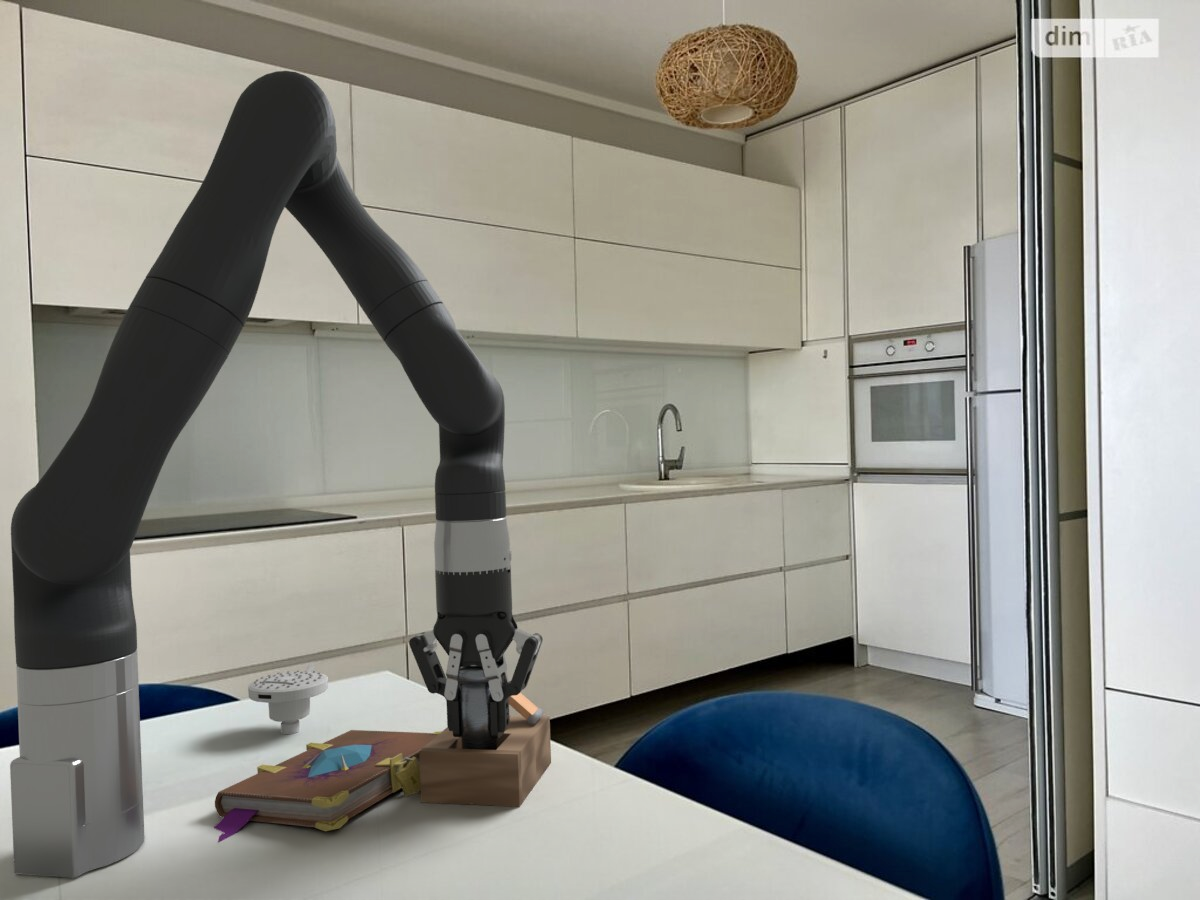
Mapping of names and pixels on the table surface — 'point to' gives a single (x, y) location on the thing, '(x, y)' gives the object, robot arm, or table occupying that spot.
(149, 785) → the table surface
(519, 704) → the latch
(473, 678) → the pin
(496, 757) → the block
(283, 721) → the showerhead
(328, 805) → the book
